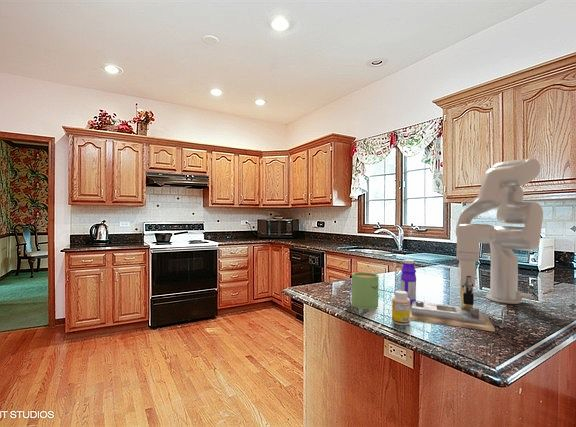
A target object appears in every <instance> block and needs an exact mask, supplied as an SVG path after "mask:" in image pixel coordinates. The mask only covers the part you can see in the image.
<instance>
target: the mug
mask: <svg viewBox="0 0 576 427" xmlns="http://www.w3.org/2000/svg"><path fill="white" fill-rule="evenodd" d="M379 278H380V277H379V274H377V273H374V272H373V273H372V272H363V271H362V272H361V271H360V272H359V271H358V272H352V274H351V306H353V307H354V308H357V309H361V310H362V309H363V310H374V308H375V309H377V307H379V297H380V295H379V286H380V283H379Z"/></svg>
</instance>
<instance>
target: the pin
mask: <svg viewBox="0 0 576 427" xmlns="http://www.w3.org/2000/svg"><path fill="white" fill-rule="evenodd" d="M463 295H464V287H461V286H460V309H461V310H462V311H470V308H474V304H473V305H468V304H464V303H463Z"/></svg>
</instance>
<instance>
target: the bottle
mask: <svg viewBox="0 0 576 427" xmlns="http://www.w3.org/2000/svg"><path fill="white" fill-rule="evenodd" d="M416 273H417V270H416V267H415V260H414V259H407V258H406V259H403V265H402V268H401V275H400V280H401V281H400V284H401V285H400V291H405V292H407V293H408V297H407V298H409V299H410V305H412V302H413V301H415V302H417V294H416V293H417V275H416Z"/></svg>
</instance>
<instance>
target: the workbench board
mask: <svg viewBox="0 0 576 427" xmlns="http://www.w3.org/2000/svg"><path fill="white" fill-rule="evenodd" d="M482 315H483V317H484V319H485V320H486V325H484V324H477V323H470V322H462V321H455V320H448V319H440V318H433V317H426V316H419V315H412V305H410V321H419V322H425V323H433V324H439V325H440V324H441V325H445V324H446V325H447V326H452V325H453V327H460V328H467V329H475V330H481V331H489V332H494V333H495V331H496V328H495V326H494V325H493V323H492V321H491V320H490V318H489V317H488V315H487V314H482Z"/></svg>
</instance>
